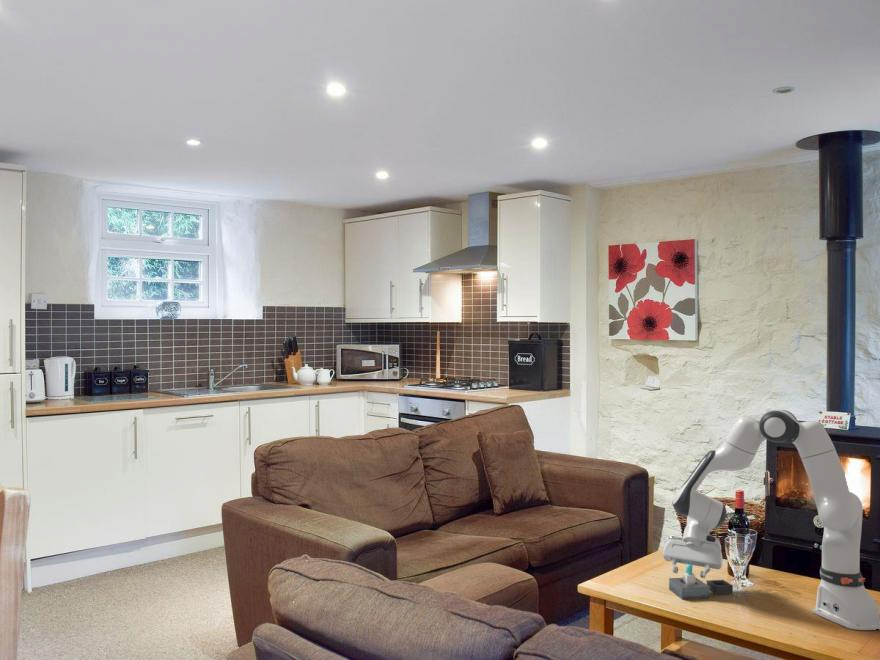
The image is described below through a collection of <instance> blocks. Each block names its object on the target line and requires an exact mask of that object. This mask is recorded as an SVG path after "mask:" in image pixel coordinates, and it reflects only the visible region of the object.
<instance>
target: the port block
mask: <svg viewBox="0 0 880 660" xmlns="http://www.w3.org/2000/svg"><path fill="white" fill-rule="evenodd" d="M668 590H669V591H671V592H672V593H673V594H674V595H676V596H677V597H678V598H679V599H681V600H693V599H694V600H698V599H700V600H701V599H710V591H709V586H708V585H707V583H705V582H703V581H702V580H700V579H699V578H697V577H696V576H695V585H685V584H684V583H683V577H672V578H671V577H670V578H668Z"/></svg>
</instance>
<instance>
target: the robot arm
mask: <svg viewBox="0 0 880 660" xmlns="http://www.w3.org/2000/svg"><path fill="white" fill-rule="evenodd" d="M766 440H768V441H769V442H772V443H792V444H793V445H794V446H795V448H796V450H797V451H798V456H799V457H800V460H801V462H802V465H803V468H804V469H805V473H806V475H807V478H808V480H809V484H810V485H811V486H810V487H811V490H812V494H813V499H814V504H815V506H816V509H817V513H818V519H819V521H820V523H821V524H822V525H823V535H822V542H821V565H820V569H819V577H820V579H821V580H820V583H819V585H818V587H817V592H816V593H817V594H816V602H815V607H814V608H813V609H812V612H813V613H814V614H815V615H817V616H820V617H822V618H825V619H826V620H829V621H831V622H833V623H836V624H838V625H840V626H842V627H844V628H847V629H850V630H857V631H872V630H873V631H877V630H876V629H879V630H880V608H879V605H878V602H877V599H874V598H873V596H872V595H871V594H870V592H869V591H868V590H867V589H866V588H865V585H864V582H866V578H865V577H863V575H862V572H861V571H860V569H861V568H860V567H861V566H860V565H861V564H860V563H861V562H860V561H861V560H860V559H861V556H860V555H861V553H860V551H861V550H860V549H861V538H862V527H863V526H862V525H863V513H864V512H863V510H864V509H863V504H862V500H861V499H860V497H858V495H857V494H855V493H853V492H851V491H850V490H849V489H850V488H849V486H848V482H847V478H846V472H845V470H844V467H843V465H842V463H841V462H842V461H841V460H840V457H839V455H838V453H837V449H836V447H835V445H834V443H833V440H832V439H831V437H830V435H829V434H828V432H827V430H826V429H825V427H824V426H823V425H822V423H820V422H819V421H815V420H806V421H802V422H801V421H798V419H797V417H796V416H795V414H793V413H792V412H790V411H789V410H786V409H776V408H775V409H772V410H770V411H767V412H766V413H765V414H763V415H762V416H761V418H759V419H758V418H755V417H751V416H741V417H739V418H738V419H737V420H736V421H735V423H734V424H733V425H732V427H731V428H730V430H729V432H728V433H727V435H726V437H725V439H724V440H723V443H721V445H720V446H719V447H717V448H716V449H714V450H710V451H708V452H707V453H705V455H704V456H703V457H702V458H701V460H700V461H699V462H698V463H697V465H696V467H695V468H694V469H693V471H692V472H691V473H690V475H689V476H688V478H687V479H686V481H685V482H684V483H683V484H682V485H681V486H680V488H679V489H678V490H677V491H676V493H675V494H674V496H673V499H672V506H673V510H675V513H676V514H678V515H680V516H682V517H686V525H685V527H684V531H683V534H682V535H683V536H682V537H675V536H670V537H667V538H666V539H664V540H665V541H664V547H663V550H662V558H663V559H664V560H665V561H666V562H670V563H671V565H672V573H673V574H679V567H678V566H676V565H677V563H678V564H683V565H687V564H689V565H692V566H695V567H702V568H704V570H701V571H700V573H699V574H700V575H699V576H700V579H701V578H702V579H706V576H707V574H708V573H709V572H710V571H711V569H713V570H721V568H722V567H723V553H722V545H721V541H720V539H719V538H717V537H716V536H713V535H711V534H710V531H711V530H715V529H718V528H720V527H721V526H723V525H724V523H725V522H726V518H727V508H726V505H725V504H724V502H722V501H720V500H717V499H716V498H713V497H711V496H708V495H705V494H703V493H701V492H699V491H697V489H698V488H700V486H701V484H702V483H703V481H704V480H705V479H706V477H707V476H708V475H709V474H710V473H712V472H716V471H727V472H738V471H742V470H744V469H747V468H748V467H749V466H750V465H751V463H752V462H753V461H754V459H755V457H756V454H757V453H758V450H759V448H760V446H761V445H762V443H763V442H764V441H766Z"/></svg>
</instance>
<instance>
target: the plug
mask: <svg viewBox="0 0 880 660" xmlns="http://www.w3.org/2000/svg"><path fill="white" fill-rule="evenodd" d="M685 566H686V567H685V571H686V572H682V573H683V574H682V576H683V577H682V578H683V583H684V584H685V585H695V577H696V575H695V574H694V573H693V565H689V564H685Z"/></svg>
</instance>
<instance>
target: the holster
mask: <svg viewBox="0 0 880 660" xmlns="http://www.w3.org/2000/svg"><path fill="white" fill-rule="evenodd" d="M706 585H708V586H709V592H711V593H712V594H714V595H715V596H721V595H723V596H724V595H733V594H734V593H733V590H734V589H733V588H734V585H732V584H731V583H729V582H728V581H726V580H725V579H712V580H711V579H710V580H707V579H706Z"/></svg>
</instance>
